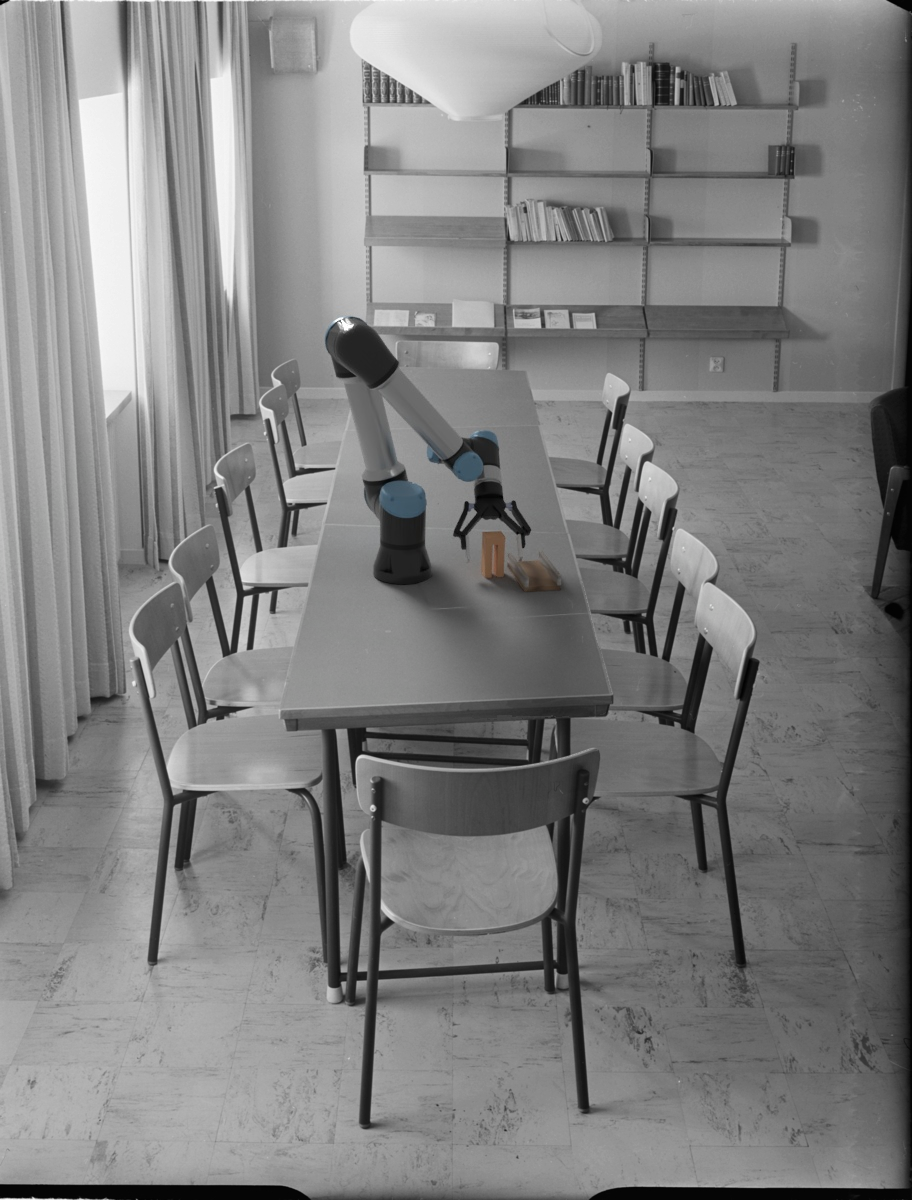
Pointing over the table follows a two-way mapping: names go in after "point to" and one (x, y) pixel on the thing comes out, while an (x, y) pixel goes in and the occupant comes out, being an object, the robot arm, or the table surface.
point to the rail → (535, 573)
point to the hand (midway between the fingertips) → (494, 559)
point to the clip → (499, 552)
